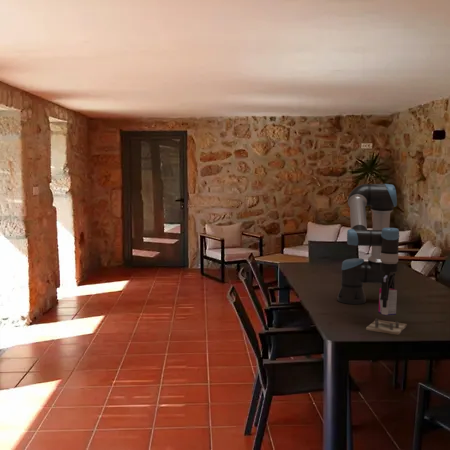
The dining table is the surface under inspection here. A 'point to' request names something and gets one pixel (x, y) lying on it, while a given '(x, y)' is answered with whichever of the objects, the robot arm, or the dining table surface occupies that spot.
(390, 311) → the supplement box
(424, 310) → the dining table surface
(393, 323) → the plate
